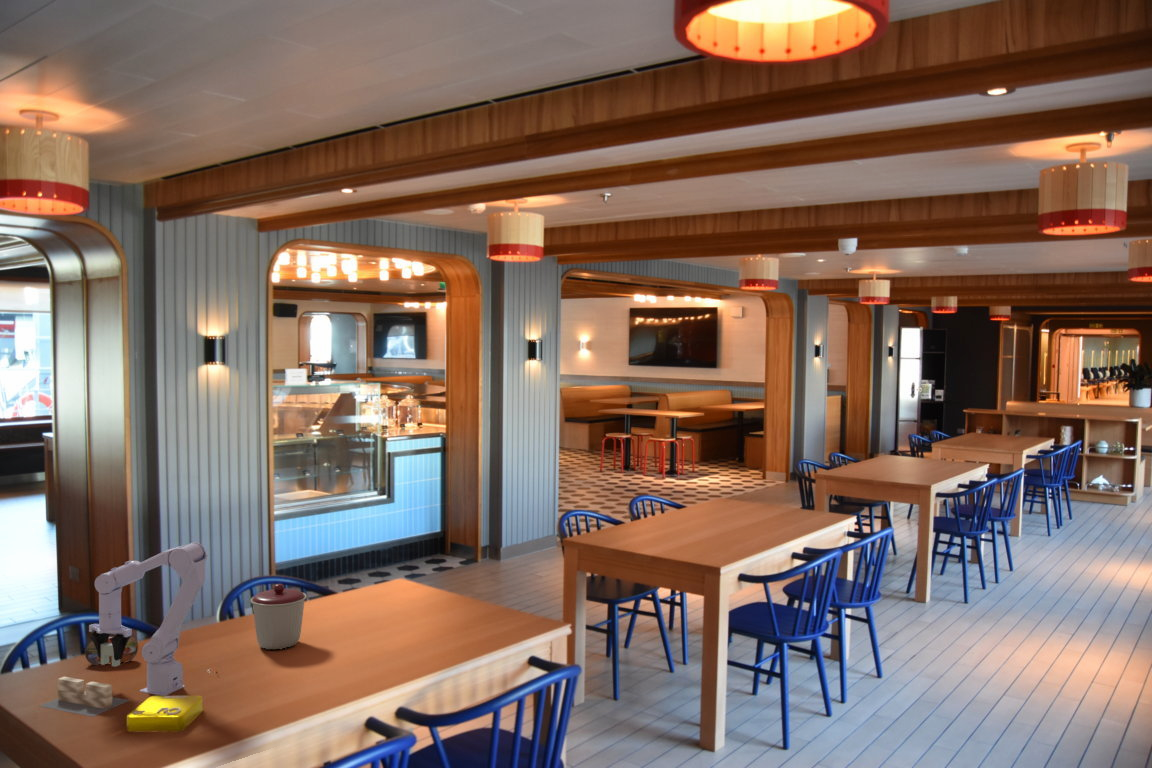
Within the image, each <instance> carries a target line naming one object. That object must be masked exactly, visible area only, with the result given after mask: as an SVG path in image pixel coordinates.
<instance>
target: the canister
mask: <svg viewBox="0 0 1152 768" xmlns="http://www.w3.org/2000/svg"><path fill="white" fill-rule="evenodd" d="M307 597H308V596H307V594H306V593H305V592H302V590H299V589H296V588H285V585H284V584H282V583H277V584H274V585H273V588H272V589H268V590H265V591H261V592H258V593H256V594H255V595H254V596H252V597H251V598H250V603H251V604H252V609H253V610H252V611H253V619H254V620H253V621H254V627H255V635H256V640H257V643H258V645H259V646H260V648H262V649H264V648H265V649H264V650H269V649H280V650H282V649H281V648H285V649H287V648H286V647H289V648H292V647H294V646H295V645H297V644H298V642H299V641H300V639H301V632H302V627H303V626H302V624H303V616H304V608H305V600H306V599H307ZM293 645H294V646H293ZM291 646H292V647H291Z"/></svg>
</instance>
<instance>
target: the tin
mask: <svg viewBox="0 0 1152 768" xmlns="http://www.w3.org/2000/svg"><path fill="white" fill-rule="evenodd" d="M112 637H113V636H109V638H108V643H111V640H110V638H112ZM84 651H85V652H84V655H85V660H86V661H87V662H88V663H89V664H91V665H94V666H98V665H97V664H101V658H99V657H98V653H97V650H96V647H95V645H94V643H93V641H92V640H91V641H90V642H89V644H88V645H87V646H86V647H85V649H84ZM138 651H139V643H138V641H137V639H135V638H134V637H133V636H131V637H130V638H129V640H128V642H127V644H126V646H125V649H124V653H123V656H122V659H120V662H126V661H127V663H129V662H131V661H133V659H134V658H135V657H136V655H138V654H137V653H138ZM109 663H112V656H109ZM109 663H108V664H109ZM109 665H110V664H109Z"/></svg>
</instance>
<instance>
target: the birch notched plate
mask: <svg viewBox="0 0 1152 768" xmlns="http://www.w3.org/2000/svg"><path fill="white" fill-rule="evenodd" d="M112 697H113V685H112V684H109V683H102V682H97V681H89V682H87V683H85V680H84V679H81V678H75V677H74V678H73V677H68V676H62V677H59V678H57V699H58V700H61V701H66V702H72V703H77V704H82V705H87V706H92V707H98V708H103V709H108V708H110V707H112Z"/></svg>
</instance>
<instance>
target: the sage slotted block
mask: <svg viewBox="0 0 1152 768" xmlns="http://www.w3.org/2000/svg"><path fill="white" fill-rule="evenodd" d="M109 656H112V664H111V667H115V668H116V667H118V666H120V665H121V664H120V659H119V660H115V659H114V651H113V646H112V643H107V642H105V643H103V644H101V665H100V666H106V665H105V664H108V663H109Z"/></svg>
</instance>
